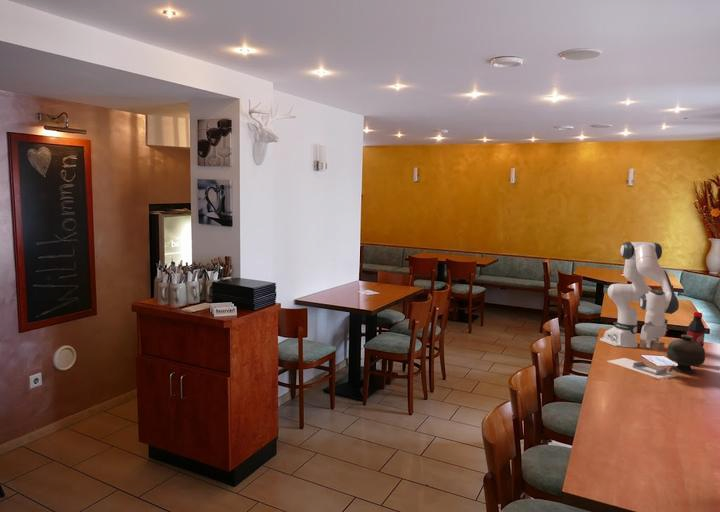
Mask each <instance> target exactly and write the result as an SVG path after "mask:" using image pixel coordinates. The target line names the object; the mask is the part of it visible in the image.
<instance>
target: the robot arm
mask: <svg viewBox="0 0 720 512" xmlns="http://www.w3.org/2000/svg"><path fill="white" fill-rule="evenodd" d="M662 255H663V248H662V245H661V244H660V243H658V242H647V241H625V242H623V243H622V245H621V247H620V256H621V258H623V259H625V261H624V266H623V272H622V273H623V276H624V278H625V279H626V280H628V281H630V282H632V283H612V284H610V285H609V286H608V288H607V296H608V297H609V299H610V300H612V301H613V303H615V305H616V307H617V321H614V322H613V325H614V326H613V327H611V328H609V329H607V330H605V332H604V335H603V336H602V337H600V338H599V341H600V342H604V343H606V344H609V345H612V346H615V347H618V348H619V347H621V348H633V349H634V348H638V341H637V340H638V339H637V332H638V316H639V313H638V311H637V309H635V307H633V306H630V304H629V303H631V302H633V303H639V308H640V309H641V310H643V311H645V315H644V325H642V327H641V331H640V340H641V339H642V340H646V344H647V345H646V347H648V348H650V347H651V343H650V341H651V339H652V340H656V341H660V338H662V337H665V335H666V333H667V327H668V326H667V324H668V322H669V320H668V319H666V318H665V314H668V315H672V314H674V313H676V312H677V311H678V310H679V307H680V305H679V303H680V302H679V299H678V297H677V295H676V293H675V292H674V289H673V286H672V285H673V284H672V282H671V280H670V277H669V274H668V272H667V271H666V270H665V269H663V268H662V267H661V265H660V263H659V261H658V260H660V259H661V257H662ZM645 278H647V279H650V280H652V281H655V282H657V283H658V284H659V285H660V286H661V289H662V290H661V289H652V287H650V286H649V285H648V284H647V283H646V281H645Z"/></svg>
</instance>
